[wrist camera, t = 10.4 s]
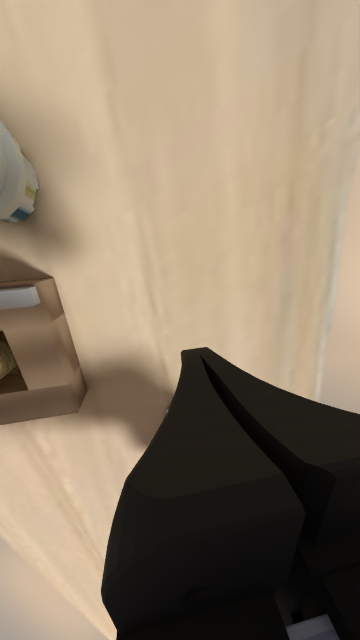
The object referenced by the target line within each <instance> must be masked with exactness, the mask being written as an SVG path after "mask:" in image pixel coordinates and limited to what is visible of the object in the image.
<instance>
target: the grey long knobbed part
mask: <svg viewBox="0 0 360 640" xmlns="http://www.w3.org/2000/svg"><path fill="white" fill-rule="evenodd" d="M38 189H39V186H38V182H37V178H36V174H35V170H34V167H33V166H32V165H31V164H30V162H29V161H28V159H27V158H26V157H25V155H24V154H23V152H22V151H21V149H20V146H19V145H18V143H17V142H16V140H15V139H14V138H13V136H12V135H11V133H10V132H9V131H8V129H7V128H6V126H5V125H4V124H3V122H2V121H1V119H0V220H1V221H4V222H16V221H24V220H25V219H26V218H27V217H28V216H29V215H30V214H31V213H32V212H33V211H34V210H35V208H34V207H33V204H34V198H35V193H36V190H38Z"/></svg>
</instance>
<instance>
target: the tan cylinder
mask: <svg viewBox="0 0 360 640" xmlns="http://www.w3.org/2000/svg"><path fill="white" fill-rule="evenodd" d="M17 365H18V364H17V362H16V360H15V357H14V355H13V353H12V350H11V348H10V346H9V343H8V341H7V339H6V336H5V334H4V332H3V330H0V380H1V379H2V378H3V377H4V376H5V375H6V374H8V373H9V372H10V371H11V370H12V369H13V368H15V367H16V366H17Z"/></svg>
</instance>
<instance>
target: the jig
mask: <svg viewBox="0 0 360 640" xmlns="http://www.w3.org/2000/svg"><path fill="white" fill-rule="evenodd" d="M0 330H3V332H4V334H5V336H6V339H7V341H8V343H9V346H10V348H11V350H12V353H13V355H14V357H15V360H16V362H17V364H18V367H19V369H20V371H21V373H19V374H12V375H5V376H4V377H3V378H2V379H1V380H0V425H4V424H10V423H16V422H23V421H29V420H35V419H41V418H47V417H53V416H60V415H66V414H72V413H78V411H79V408H80V406H81V404H82V402H83V399H84V397H85V395H86V393H87V388H86V384H85V381H84V378H83V374H82V371H81V367H80V364H79V361H78V357H77V354H76V351H75V347H74V344H73V341H72V337H71V334H70V331H69V327H68V324H67V321H66V317H65V314H64V310H63V307H62V304H61V300H60V297H59V294H58V290H57V287H56V284H55V280H54V278H44V279H33V280H21V281H10V282H0Z"/></svg>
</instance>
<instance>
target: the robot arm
mask: <svg viewBox="0 0 360 640" xmlns="http://www.w3.org/2000/svg"><path fill="white" fill-rule="evenodd" d="M181 361H182V367H181V373H180V378H179V381H178V385H177V389H176V392H175V395H174V397H173V400H172V402H171V405H170V407H169V408H168V409H167V410H166V416H165V418H164V420H163V422H162V424H161V425H160V427H159V429H158V431H157V432H156V434H155V436H154V438H153V439H152V441H151V443H150V445H149V446H148V448H147V449H146V451H145V452H144V454H143V455H142V457H141V458H140V460H139V461H138V462H137V464H136V465H135V467H134V468H133V470H132V471H131V473H130V474H129V475H128V477H127V478H126V480H125V483H124V486H123V489H122V492H121V495H120V498H119V501H118V505H117V508H116V512H115V515H114V519H113V523H112V527H111V531H110V536H109V540H108V545H107V552H106V559H105V566H104V572H103V579H102V586H101V596H102V602H103V604H104V605H105V607H106V609H107V611H108V613H109V615H110V617H111V619H112V621H113V623H114V625H115V627H116V629H117V639H116V640H360V414H357V413H353V412H349V411H345V410H341V409H338V408H335V407H331V406H328V405H325V404H321V403H318V402H315V401H312V400H309V399H306V398H303V397H301V396H298V395H295V394H293V393H290V392H287V391H285V390H282V389H280V388H278V387H275V386H273V385H271V384H269V383H266V382H264V381H262V380H260V379H258V378H256V377H254V376H252V375H250V374H249V373H247V372H245V371H243V370H241V369H240V368H238V367H236V366H235V365H233V364H231V363H230V362H228V361H227V360H225V359H224V358H222V357H221V356H219V355H218V354H216V353H215V352H213V351H212V350H210V349H209V348H207V347H204V348H196V349H189V350H183V351H182V352H181Z"/></svg>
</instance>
